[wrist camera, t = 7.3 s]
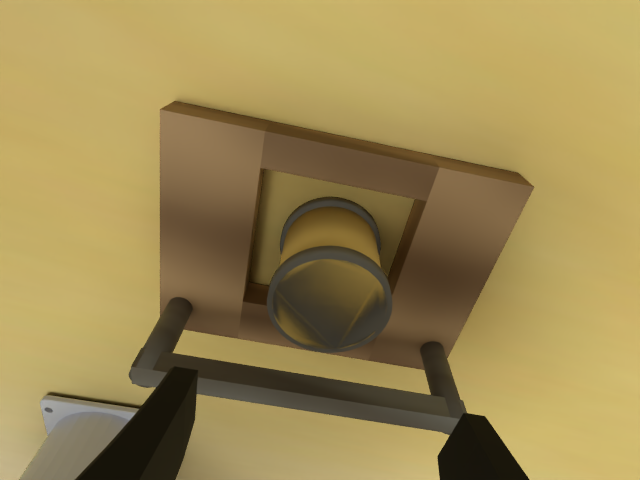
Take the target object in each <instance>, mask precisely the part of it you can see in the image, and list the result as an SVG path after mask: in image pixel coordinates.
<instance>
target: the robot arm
mask: <svg viewBox="0 0 640 480" xmlns="http://www.w3.org/2000/svg"><path fill="white" fill-rule="evenodd" d="M197 380H198V370H195V369H188V368H182V367H176V366H174V367H172V368H170V370H169V371H168V372H167V374H166V375H165V377H164V378H163V379H162V381H161V382H160V383H159V385H158V386H157V387H156V389H155V390H154V391H153V393H152V394H151V395H150V396H149V398H148V399H147V400H146V401H145V403H144V404H143V405H142V406H141V407H140V409H137V408H131V407H124V406H118V405H111V404H104V403H98V402H91V401H85V400H78V399H71V398H65V397H58V396H52V395H47V396H44V397H43V398H42V400H41V401H40V405H41V410H42V414H43V418H44V423H45V427H46V431H47V435H48V437H47V438H46V440H45V441H44V443H43V444H42V446H41V447H40V449H39V450H38V452H37V453H36V455H35V456H34V458H33V459H32V461H31V462H30V464H29V465H28V467H27V468H26V470H25V471H24V473H23V474H22V476H21V477H20V479H19V480H175V479H176V477H177V474H178V471H179V469H180V466H181V464H182V461H183V458H184V455H185V451H186V448H187V445H188V441H189V438H190V435H191V431H192V428H193V424H194V421H195V410H196V395H197ZM438 466H439V475H440V480H529V478H528V477H527V476H526V474H525V473H524V471H523V470H522V468H521V467H520V466H519V464H518V463H517V461H516V460H515V458H514V457H513V456H512V454H511V453H510V451H509V450H508V448H507V447H506V446H505V444H504V443H503V441H502V440H501V438H500V437H499V435H498V434H497V433H496V431H495V430H494V428H493V427H492V425H491V424H490V423H489V421H488V420H487V418H486V417H485V416H480V415H474V414H468V413H463V414H462V416H461V418H460V420H459V421H458V423H457V425H456V426H455V428H454V430H453V431H452V433H451V435H450V436H449V438H448V440H447V441H446V443H445V445H444V446H443V448H442V450H441V451H440V453H439V455H438Z"/></svg>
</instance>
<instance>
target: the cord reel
mask: <svg viewBox="0 0 640 480" xmlns="http://www.w3.org/2000/svg"><path fill="white" fill-rule="evenodd" d="M380 249H381V242H380V236H379V231H378V228H377V225H376V223H375V221H374V219H373V218H372V216H371V215H370V214H369V213H368V212H367V211H366V210H365V209H364V208H363V207H361V206H360V205H358V204H357V203H355V202H352V201H350V200H347V199H344V198H339V197H322V198H317V199H314V200H310V201H308V202H306V203H304V204H302V205H301V206H299V207H298V208H297V209H296V210H294V211H293V213H292V214H291V215H290V216H289V217H288V219H287V221H286V223H285V225H284V227H283V231H282V235H281V241H280V250H281V260H280V265H279V268H278V269H277V270H276V272H275V274H274V275H273V277H272V280H271V283H270V287H269V291H268V297H267V309H268V314H269V317H270V319H271V321H272V323H273V325H274V326H275V328H276V329H277V330H278V332H279V333H280V334H281V335H282V336H284V337H285V338H286V339H287V340H289V341H290V342H292V343H294V344H296V345H298V346H300V347H302V348H305V349H308V350H312V351H316V352H324V353H337V352H345V351H349V350H353V349H356V348H359V347H361V346H363V345H365V344H367V343H369V342H370V341H372V340H373V339H374V338H376V337H377V336H378V335H379V334H380V333H381V332H382V331H383V329H384V328H385V327H386V325H387V323H388V321H389V319H390V316H391V313H392V295H391V290H390V285H389V282H388V279H387V277H386V275H385V273H384V272H383V270H382V269H381V265H380V260H379V255H380Z"/></svg>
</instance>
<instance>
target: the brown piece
mask: <svg viewBox="0 0 640 480" xmlns="http://www.w3.org/2000/svg"><path fill="white" fill-rule="evenodd" d="M264 169H269V170H274V171H279V172H284V173H289V174H294V175H299V176H304V177H309V178H314V179H319V180H324V181H329V182H334V183H339V184H344V185H349V186H354V187H359V188H364V189H369V190H374V191H379V192H384V193H388V194H393V195H398V196H403V197H408V198H413V199H415V202H414V205H413V207H412V210H411V213H410V216H409V219H408V222H407V224H406V227H405V230H404V233H403V236H402V239H401V241H400V244H399V247H398V250H397V253H396V256H395V259H394V261H393V264H392V267H391V270H390V273H389V276H388V278H387V279H388V282H389V285H390V290H391V295H392V313H391V316H390V319H389V321H388V323H387V325H386V327H385V328H384V329H383V331H382V332H381V333H380V334H379V335H378V336H377V337H376V338H374V339H373V340H372V341H370V342H369V343H367V344H365V345H363V346H361V347H359V348H356V349H353V350H349V351H345V352H337V353H327V354H333V355H339V356H345V357H351V358H357V359H362V360H368V361H374V362H380V363H386V364H392V365H398V366H404V367H410V368H416V369H422V370H425V373H426V377H427V381H428V385H429V389H430V393H431V395H427V394H421V393H414V392H408V391H402V390H396V389H390V388H384V387H378V386H371V385H365V384H359V383H353V382H347V381H341V380H334V379H328V378H322V377H316V376H310V375H304V374H298V373H291V372H285V371H279V370H273V369H267V368H261V367H255V366H248V365H242V364H236V363H230V362H224V361H218V360H212V359H205V358H199V357H193V356H187V355H181V354H175V353H173V351H174V349H175V346H176V344H177V342H178V340H179V338H180V336H181V334H182V332H183V330H189V331H195V332H201V333H207V334H213V335H219V336H225V337H231V338H237V339H243V340H249V341H255V342H261V343H267V344H273V345H279V346H285V347H291V348H297V349H303V350H308V349H305V348H302V347H300V346H298V345H296V344H294V343H292V342H290V341H289V340H287V339H286V338H285V337H284V336H282V335H281V334H280V333H279V332H278V330H277V329H276V328H275V326H274V325H273V323H272V321H271V319H270V317H269V314H268V309H267V297H268V291H269V287H270V286H266V285H261V284H255V283H250V282H249V276H250V269H251V261H252V254H253V247H254V239H255V232H256V225H257V218H258V210H259V203H260V196H261V188H262V181H263V174H264ZM533 188H534V186H532V185H531V184H530V183H529V182H528V181H527V180H526V179H524V178H523V177H522V176H521V175H520V174H519V173H516V172H511V171H506V170H501V169H496V168H492V167H487V166H482V165H477V164H473V163H468V162H463V161H458V160H454V159H449V158H444V157H439V156H434V155H430V154H425V153H420V152H415V151H411V150H406V149H401V148H396V147H391V146H387V145H382V144H377V143H372V142H368V141H363V140H358V139H353V138H348V137H344V136H339V135H334V134H329V133H325V132H320V131H315V130H310V129H305V128H301V127H296V126H291V125H286V124H282V123H277V122H272V121H267V120H262V119H258V118H253V117H248V116H243V115H239V114H234V113H229V112H224V111H220V110H215V109H210V108H205V107H200V106H196V105H191V104H186V103H181V102H177V101H174V102H172V103H170V104H169V105H167V106H165V107H163V108H162V109H160V319H159V320H158V322H157V324H156V326H155V327H154V329H153V331H152V333H151V335H150V336H149V338H148V340H147V342H146V343H145V345H144V347H143V348H141V350H140V352H139V354H138V355H137V357H136V359H135V361H134V362H133V364H132V366H131V370H130V372H129V377H130V379H131V381H132V384H136V385H138V386H141V387H146V388H149V387H157V386H158V385H159V383H160V382H161V381H162V379H163V378H164V377H165V375H166V374H167V372H168V371H169V370H170V368H172V367H174V366H176V367H182V368H188V369H195V370H198V380H197V394H201V395H207V396H214V397H220V398H227V399H233V400H240V401H246V402H252V403H259V404H265V405H272V406H278V407H284V408H291V409H297V410H304V411H310V412H317V413H323V414H329V415H336V416H342V417H349V418H355V419H361V420H368V421H374V422H381V423H387V424H394V425H400V426H406V427H413V428H419V429H426V430H432V431H438V432H443V433H445V434H448V435H451V433H452V431H453V430H454V428H455V426H456V425H457V423H458V421H459V420H460V418H461V416H462V414H463V413H467V411H466V408H465V405H464V402H463V400H460V397H459V394H458V391H457V388H456V385H455V382H454V379H453V376H452V373H451V370H450V366H449V363H448V360H447V358H448V356H449V354H450V352H451V350H452V348H453V346H454V344H455V342H456V340H457V338H458V336H459V334H460V332H461V330H462V328H463V326H464V324H465V322H466V320H467V319H468V317H469V315H470V313H471V311H472V309H473V307H474V305H475V303H476V301H477V299H478V297H479V295H480V293H481V291H482V289H483V287H484V285H485V283H486V281H487V279H488V277H489V275H490V273H491V271H492V269H493V267H494V265H495V263H496V261H497V259H498V257H499V255H500V253H501V252H502V250H503V248H504V246H505V244H506V242H507V240H508V238H509V236H510V234H511V232H512V230H513V228H514V226H515V224H516V222H517V220H518V218H519V216H520V214H521V212H522V210H523V208H524V206H525V204H526V202H527V200H528V198H529V196H530V194H531V192H532V190H533ZM309 351H312V350H309ZM315 352H316V351H315ZM321 353H324V352H321Z"/></svg>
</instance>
